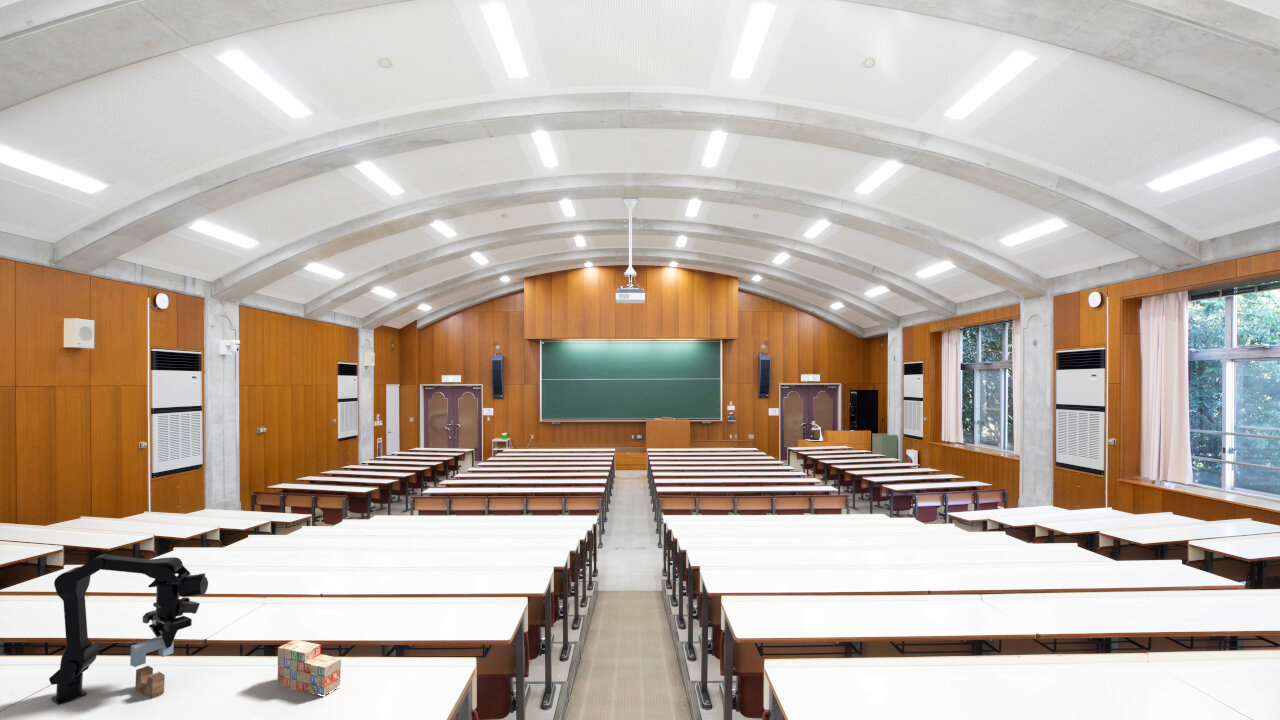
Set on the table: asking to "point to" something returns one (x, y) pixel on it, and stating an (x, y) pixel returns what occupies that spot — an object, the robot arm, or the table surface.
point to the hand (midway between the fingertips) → (166, 646)
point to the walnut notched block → (149, 682)
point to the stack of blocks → (307, 668)
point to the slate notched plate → (148, 650)
